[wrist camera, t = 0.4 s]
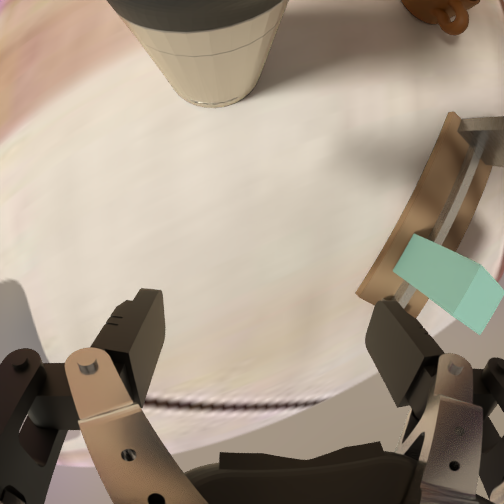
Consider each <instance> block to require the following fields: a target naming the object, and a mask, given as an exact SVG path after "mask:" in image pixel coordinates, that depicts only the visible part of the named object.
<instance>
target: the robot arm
mask: <svg viewBox="0 0 504 504" xmlns="http://www.w3.org/2000/svg"><path fill="white" fill-rule="evenodd" d="M107 1H108V3H109V4H110V5H111V6H112V8H113V9H114V10H115V11H116V12H117V14H118V15H119V16H120V18H121V19H122V20H123V22H124V23H125V24H126V25H127V27H128V28H129V29H130V31H131V32H132V33H133V35H134V36H135V37H136V38H137V40H138V41H139V42H140V44H141V45H142V46H143V48H144V49H145V50H146V52H147V53H148V54H149V56H150V57H151V58H152V60H153V61H154V62H155V64H156V65H157V66H158V68H159V69H160V71H161V72H162V73H163V75H164V76H165V77H166V79H167V80H168V82H169V83H170V84H171V86H172V87H173V89H174V90H175V91H176V92H177V93H178V95H179V96H180V97H182V98H183V99H184V100H186V101H187V102H189V103H192V104H194V105H196V106H201V107H205V108H218V107H225V106H228V105H231V104H234V103H236V102H238V101H239V100H241V99H243V98H244V97H245V96H246V95H248V94H249V93H250V92H251V91H252V89H253V88H254V87H255V86H256V84H257V82H258V79H259V77H260V75H261V72H262V69H263V67H264V64H265V61H266V59H267V56H268V53H269V51H270V48H271V45H272V43H273V40H274V37H275V35H276V32H277V30H278V27H279V24H280V22H281V19H282V17H283V14H284V12H285V9H286V6H287V4H288V1H289V0H107ZM164 339H165V318H164V305H163V294H162V291H161V290H155V289H144V288H141V289H140V290H139V292H138V293H137V295H136V297H135V298H134V300H133V301H129V300H126V301H125V302H123V303H122V304H120V305H119V306H117V307H116V308H115V310H114V311H113V313H112V314H111V317H109V319H108V320H107V322H106V324H105V325H104V326H103V328H102V330H101V331H100V333H99V334H98V336H97V337H96V339H95V340H94V342H93V344H92V345H91V347H90V348H83V349H80V350H77V351H75V352H73V353H72V354H71V355H70V356H69V357H68V358H67V360H66V362H65V363H42V360H41V358H40V356H39V354H38V353H37V352H36V351H34V350H32V349H28V348H23V349H18V350H15V351H13V352H11V353H10V354H9V355H7V357H6V358H5V359H4V360H3V361H2V363H1V364H0V504H44V502H45V499H46V495H47V491H48V488H49V484H50V481H51V478H52V475H53V472H54V469H55V466H56V463H57V460H58V457H59V454H60V451H61V448H62V445H63V442H64V440H65V437H66V434H67V431H68V430H81V432H82V435H83V438H84V440H85V443H86V445H87V448H88V450H89V453H90V455H91V458H92V460H93V462H94V465H95V467H96V469H97V471H98V474H99V476H100V478H101V480H102V482H103V484H104V486H105V488H106V490H107V492H108V494H109V496H110V498H111V500H112V502H113V503H114V504H504V436H503V437H502V438H501V437H500V436H499V434H498V432H497V430H496V429H495V427H494V425H493V423H492V422H491V420H490V418H489V417H488V416H489V415H490V413H491V412H492V411H493V410H494V408H495V407H496V406H497V404H499V406H500V407H501V409H502V410H503V412H504V360H503V359H500V358H491V359H490V360H489V361H488V363H487V365H486V366H485V368H484V369H472V367H471V364H470V363H469V362H468V361H467V360H466V359H465V358H463V357H462V356H460V355H457V354H453V353H444V352H443V350H442V349H441V348H440V347H439V346H438V344H437V343H436V342H435V341H434V339H433V338H432V337H431V336H430V335H428V332H427V331H426V330H425V328H423V326H422V325H421V324H420V323H419V321H418V320H417V319H416V318H414V317H413V316H411V315H410V314H408V313H407V312H406V311H405V310H404V308H403V307H402V306H401V305H400V304H399V303H398V302H397V301H395V300H380V301H378V302H377V303H376V304H375V307H374V310H373V314H372V317H371V320H370V323H369V326H368V329H367V333H366V338H365V343H366V348H367V350H368V352H369V354H370V356H371V358H372V359H373V361H374V363H375V365H376V367H377V369H378V371H379V373H380V375H381V377H382V378H383V380H384V382H385V384H386V386H387V388H388V390H389V392H390V394H391V396H392V398H393V400H394V402H395V404H396V406H397V407H403V406H408V405H410V406H411V409H410V411H409V413H408V414H407V417H406V421H405V424H404V427H403V430H402V433H401V436H400V439H399V442H398V445H397V447H396V450H395V452H386V451H383V448H382V446H381V443H380V441H379V442H374V443H368V444H363V445H357V446H350V447H345V448H342V449H339V450H337V451H334V452H331V453H328V454H325V455H322V456H319V457H317V458H314V459H310V460H299V459H292V458H286V457H280V456H274V455H268V454H263V453H224V452H220V460H219V463H214V464H208V465H204V466H200V467H197V468H194V469H192V470H190V471H187V472H185V473H183V471H182V470H181V469H180V467H179V466H178V465H177V463H176V462H175V460H174V459H173V458H172V456H171V455H170V453H169V452H168V450H167V449H166V447H165V446H164V444H163V443H162V441H161V440H160V438H159V437H158V435H157V434H156V432H155V431H154V429H153V428H152V426H151V424H150V423H149V421H148V419H147V418H146V416H145V414H144V413H143V411H142V409H141V408H143V405H144V401H145V398H146V395H147V392H148V389H149V385H150V382H151V379H152V376H153V373H154V370H155V367H156V364H157V361H158V358H159V355H160V352H161V349H162V346H163V343H164ZM27 414H28V416H27V418H26V420H25V422H24V424H23V426H22V429H21V431H20V433H19V430H20V428H21V425H22V423H23V421H24V419H25V417H26V415H27ZM478 475H479V476H480V478H481V481H482V483H483V485H484V488H485V490H486V492H487V495H488V497H489V500H490V501H489V500H487V499H485V498H483V497H481V496H479V495H477V494H476V487H477V482H478Z"/></svg>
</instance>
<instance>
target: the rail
mask: <svg viewBox="0 0 504 504" xmlns="http://www.w3.org/2000/svg"><path fill="white" fill-rule="evenodd" d="M457 132H458V133H459V134H460V135H461V136H462V137H463V138H464V139H465V141H466V142H467V143H468V144H469V148H468V151H467V153H466V156H465V158H464V161H463V163H462V166H461V168H460V171H459V173H458V176H457V178H456V180H455V183H454V185H453V187H452V189H451V192H450V194H449V196H448V198H447V200H446V203H445V205H444V207H443V209H442V211H441V213H440V215H439V217H438V219H437V221H436V223H435V225H434V227H433V229H432V231H431V233H430V235H429V237H428V240H430V241H432V242H434V243H437V244H439V245H441V246H442V244H443V242H444V240H445V238H446V236H447V234H448V232H449V230H450V228H451V226H452V224H453V222H454V220H455V218H456V216H457V213H458V211H459V209H460V207H461V205H462V202H463V200H464V198H465V196H466V193H467V191H468V188H469V186H470V184H471V181H472V179H473V176H474V174H475V171H476V168H477V166H478V163H479V160H480V158H481V160H482V161H483V162H484V163H485V165H492V166H500V167H504V116H501V117H485V118H472V119H461V122H460V125H459V127H458V130H457ZM415 291H416V288H415V287H414V286H412V285H411V284H409V283H408V282H407V281H405V280H403V282H402V284H401V285H400V287H399V289H398V290H397V292H396V293H395V295H394V296H393V298H392V299H391V300H395V301H397V302H398V303H399V304H400V305H401V306H402V307H403V308H405V307H406V305H407V304H408V302H409V300H410V299H411V297H412V296H413V294H414V293H415ZM382 300H385V299H382Z"/></svg>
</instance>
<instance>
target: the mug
mask: <svg viewBox="0 0 504 504" xmlns="http://www.w3.org/2000/svg"><path fill="white" fill-rule="evenodd" d="M401 1H402V3H403V4H404V6H405V7H406V8H407V9H408V10H409V11H410V12H411V13H412V14H413V15H414V16H415V17H417V18H418V19H420V20H421V21H423V22H426V23H429V24H438V23H439V25H440V27H441V29H442V30H443V31H444V32H446V33H447V34H450V35H459V34H461V33H463V32H464V31H465V30H466V28H467V26H468V23H469V15H468V12H467V11H466V10H468V9H470V8H472V7H473V6H475V5H476V4H478V3H479V2H480V0H401ZM455 15H456V18H455V20H454V21H453V22H451V21H450V18H451V17H453V16H455Z"/></svg>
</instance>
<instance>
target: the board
mask: <svg viewBox="0 0 504 504" xmlns="http://www.w3.org/2000/svg"><path fill="white" fill-rule="evenodd" d="M460 122H461V118H460V117H459V116H458V115H457V114H456V113H455V112H448V115H447V117H446V120H445V122H444V125H443V127H442V130H441V132H440V135H439V137H438V140H437V142H436V144H435V147H434V149H433V151H432V153H431V156H430V158H429V160H428V162H427V164H426V167H425V169H424V171H423V173H422V175H421V177H420V179H419V181H418V183H417V186H416V188H415V190H414V192H413V194H412V196H411V198H410V200H409V201H408V203H407V205H406V207H405V209H404V211H403V213H402V215H401V217H400V219H399V220H398V222H397V224H396V226H395V228H394V230H393V231H392V233H391V235H390V237H389V239H388V240H387V242H386V244H385V246H384V247H383V249H382V251H381V252H380V254H379V256H378V258H377V259H376V261H375V263H374V264H373V266H372V267H371V269H370V271H369V272H368V274H367V276H366V277H365V279H364V280H363V282H362V284H361V285H360V287H359V288H358V290H357V291H356V294H357V295H358V296H359V297H360V298H362V299H363V300H365V301H367V302H369V303H371V304H373V305H375V304H376V303H377V302H378V301H380V300H382V299H385V300H391V299H392V298H393V296H394V295H395V293H396V292H397V290H398V289H399V287H400V285H401V284H402V282H403V280H404V279H403V278H401V277H400V276H398V275H397V274H396V273H394V272H393V269H394V268H395V266H396V264H397V262H398V261H399V259H400V257H401V256H402V254H403V252H404V250H405V249H406V247H407V245H408V243H409V241H410V240H411V238H412V236H413V234H416V235H419V236H421V237H423V238H426V239H428V237H429V235H430V233H431V231H432V229H433V227H434V225H435V223H436V221H437V219H438V217H439V215H440V213H441V211H442V209H443V207H444V205H445V203H446V200H447V198H448V196H449V194H450V192H451V189H452V187H453V185H454V183H455V180H456V178H457V176H458V173H459V171H460V168H461V166H462V163H463V161H464V158H465V156H466V153H467V151H468V148H469V144H468V143H467V142H466V141H465V139H464V138H463V137H462V136H461V135H460V134H459V133H458V132H457V130H458V127H459V125H460ZM491 169H492V165H485V163H484V162H483V161H482V160H481V158H480V160H479V163H478V166H477V168H476V171H475V174H474V176H473V179H472V181H471V184H470V186H469V188H468V191H467V193H466V196H465V198H464V200H463V202H462V205H461V207H460V209H459V211H458V213H457V216H456V218H455V220H454V222H453V224H452V226H451V228H450V230H449V232H448V234H447V236H446V238H445V240H444V242H443V244H442V246H443V247H445V248H447V249H450V250H452V251H454V252H456V250H457V248H458V246H459V244H460V242H461V240H462V238H463V236H464V234H465V232H466V230H467V228H468V226H469V223H470V221H471V219H472V217H473V215H474V212H475V210H476V208H477V205H478V203H479V201H480V198H481V196H482V193H483V191H484V188H485V185H486V183H487V180H488V177H489V175H490V172H491ZM428 299H429V298H428V297H427V296H426V295H424V294H423V293H422V292H420V291H419V290H418V289H416V291H415V293H414V294H413V296H412V297H411V299H410V300H409V302H408V304H407V305H406V307H405V308H404V310H405V311H406V312H407V313H408V314H410V315H411V316H413V317H414V318H417V316H418V315H419V313H420V312H421V310H422V309H423V307H424V305H425V304H426V302H427V301H428Z"/></svg>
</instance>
